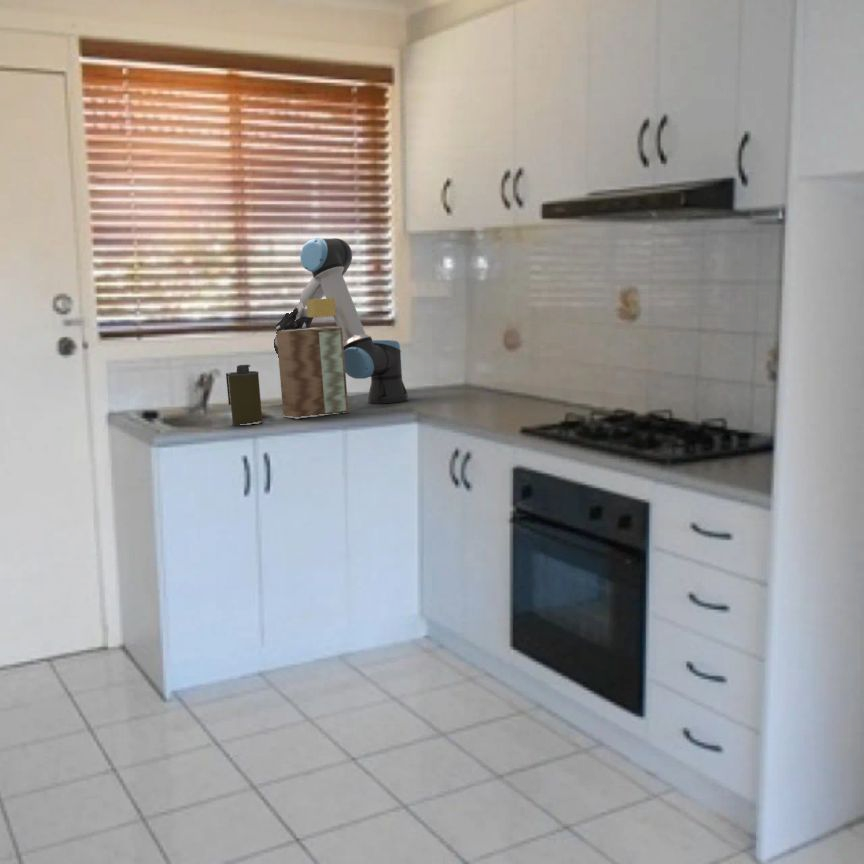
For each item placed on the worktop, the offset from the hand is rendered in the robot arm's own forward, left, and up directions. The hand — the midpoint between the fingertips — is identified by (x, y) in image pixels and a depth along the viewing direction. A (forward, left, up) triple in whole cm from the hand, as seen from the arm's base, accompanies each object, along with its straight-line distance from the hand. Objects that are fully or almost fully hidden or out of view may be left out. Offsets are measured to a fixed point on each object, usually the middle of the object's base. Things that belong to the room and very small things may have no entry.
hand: (306, 304), depth 363 cm
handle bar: (0, +4, -4) cm, 6 cm away
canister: (+30, +10, -39) cm, 50 cm away
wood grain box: (+5, +12, -38) cm, 40 cm away
